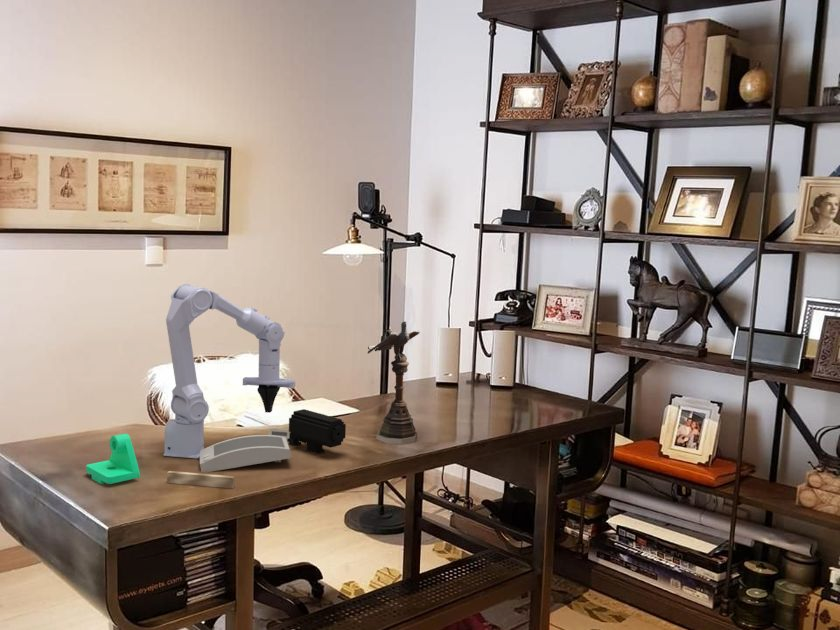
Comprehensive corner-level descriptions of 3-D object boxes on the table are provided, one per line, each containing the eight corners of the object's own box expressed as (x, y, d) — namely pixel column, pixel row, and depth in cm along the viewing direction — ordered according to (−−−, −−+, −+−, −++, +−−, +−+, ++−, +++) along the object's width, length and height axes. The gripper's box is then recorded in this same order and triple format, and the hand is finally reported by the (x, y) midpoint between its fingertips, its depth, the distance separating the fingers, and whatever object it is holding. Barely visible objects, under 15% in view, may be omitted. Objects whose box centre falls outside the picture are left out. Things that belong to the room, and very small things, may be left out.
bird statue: (354, 433, 246) (357, 315, 241) (388, 427, 255) (393, 312, 250) (389, 447, 234) (394, 322, 229) (425, 440, 242) (430, 320, 238)
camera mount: (84, 475, 201) (84, 433, 200) (115, 469, 207) (114, 428, 205) (108, 488, 193) (108, 445, 192) (139, 481, 198) (139, 439, 197)
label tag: (268, 440, 236) (269, 428, 235) (269, 440, 236) (269, 427, 236) (289, 442, 235) (289, 429, 234) (290, 441, 235) (290, 429, 235)
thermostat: (199, 459, 218) (199, 437, 217) (286, 456, 223) (287, 433, 222) (199, 473, 207) (199, 449, 206) (291, 469, 212) (291, 446, 212)
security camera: (299, 441, 237) (300, 406, 235) (346, 455, 225) (348, 419, 224) (280, 445, 231) (281, 410, 230) (328, 460, 220) (329, 423, 218)
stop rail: (167, 482, 198) (167, 472, 198) (169, 481, 199) (169, 470, 199) (232, 488, 196) (232, 478, 196) (234, 486, 197) (234, 476, 197)
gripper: (298, 362, 237) (297, 409, 239) (248, 359, 239) (248, 406, 240) (291, 367, 230) (290, 416, 232) (240, 364, 232) (239, 412, 234)
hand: (268, 411), depth 236 cm, fingers closed
